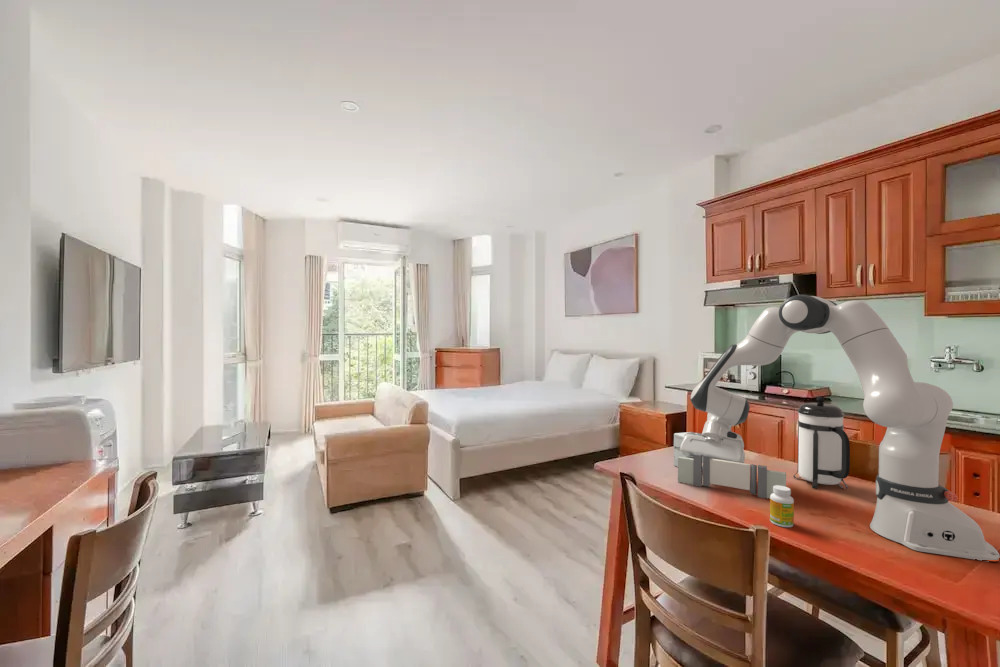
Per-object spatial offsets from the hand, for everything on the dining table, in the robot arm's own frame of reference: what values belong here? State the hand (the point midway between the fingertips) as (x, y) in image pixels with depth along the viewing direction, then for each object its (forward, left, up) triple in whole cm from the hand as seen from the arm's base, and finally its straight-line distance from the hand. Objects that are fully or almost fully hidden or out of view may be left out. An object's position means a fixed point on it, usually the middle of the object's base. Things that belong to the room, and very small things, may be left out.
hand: (706, 470), depth 144 cm
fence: (-7, +2, -5) cm, 9 cm away
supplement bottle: (-21, +21, -5) cm, 30 cm away
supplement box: (+8, -16, -5) cm, 19 cm away
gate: (-7, +2, -4) cm, 8 cm away
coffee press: (-34, -21, -5) cm, 40 cm away
